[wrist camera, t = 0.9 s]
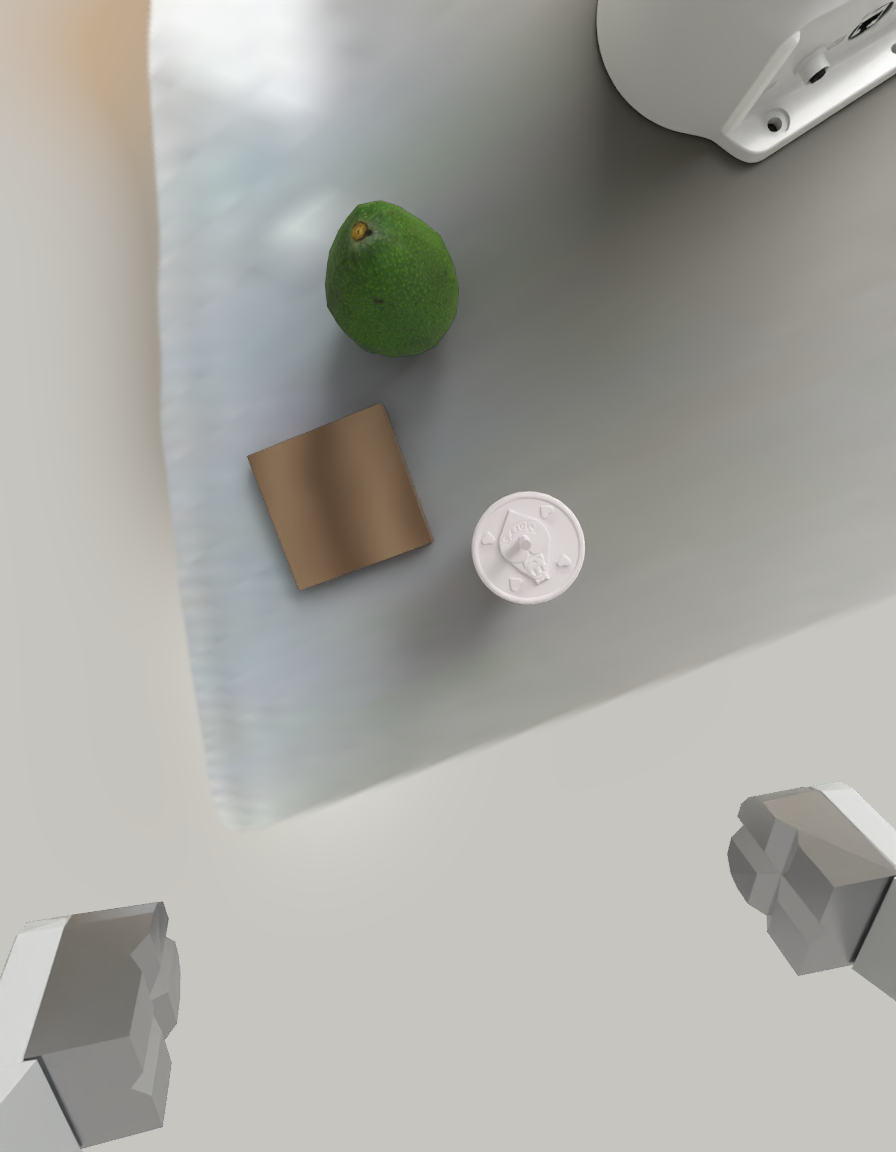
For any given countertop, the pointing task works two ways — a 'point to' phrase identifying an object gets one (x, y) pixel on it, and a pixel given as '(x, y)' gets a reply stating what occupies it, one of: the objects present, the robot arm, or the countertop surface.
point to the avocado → (390, 281)
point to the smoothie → (528, 547)
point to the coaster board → (341, 497)
